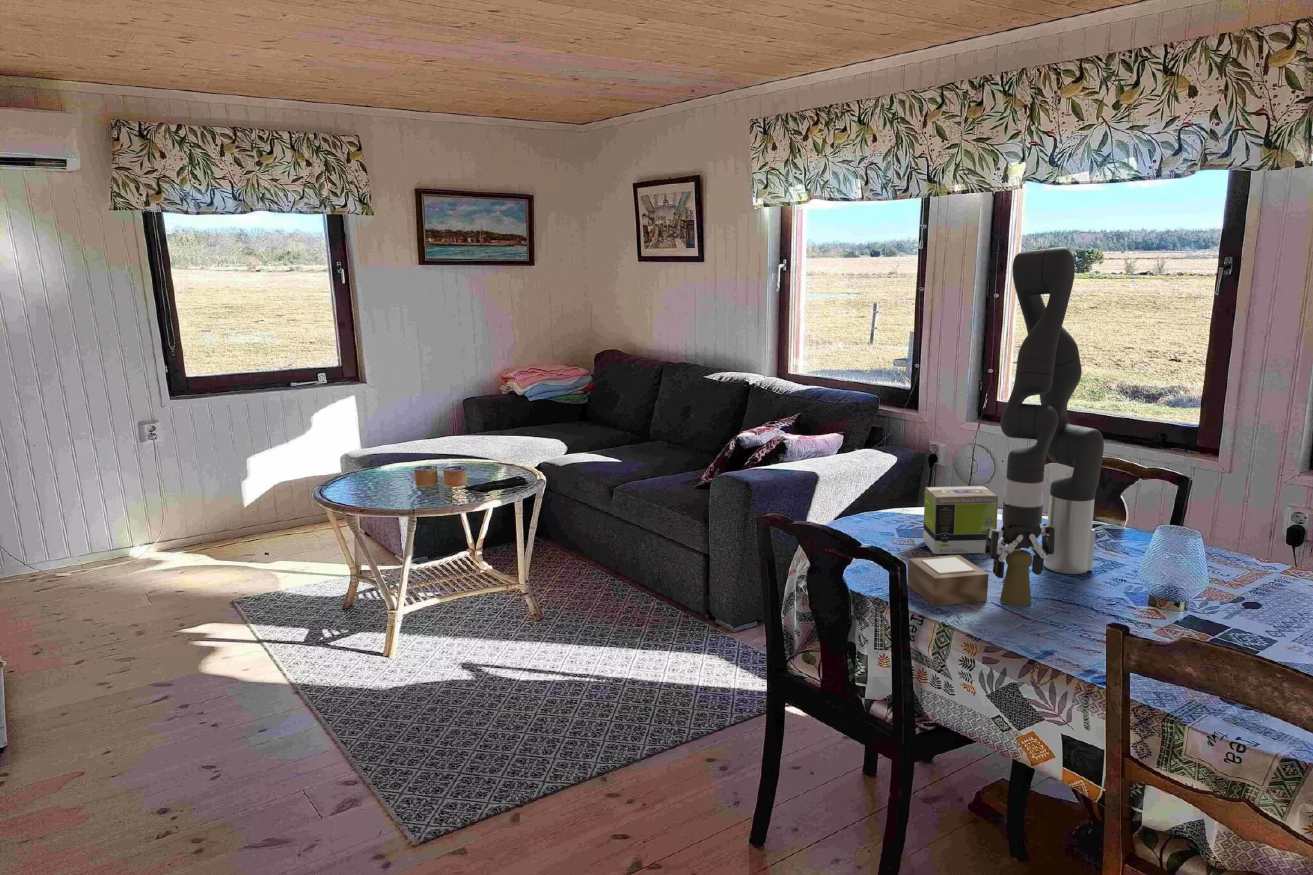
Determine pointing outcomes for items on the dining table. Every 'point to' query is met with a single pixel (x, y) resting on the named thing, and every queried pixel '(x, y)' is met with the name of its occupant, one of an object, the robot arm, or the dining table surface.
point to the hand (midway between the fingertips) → (1017, 575)
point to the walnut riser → (947, 580)
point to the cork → (1017, 579)
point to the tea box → (958, 518)
